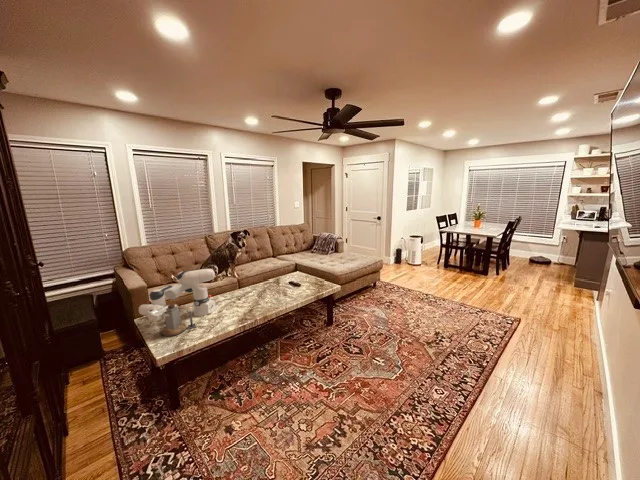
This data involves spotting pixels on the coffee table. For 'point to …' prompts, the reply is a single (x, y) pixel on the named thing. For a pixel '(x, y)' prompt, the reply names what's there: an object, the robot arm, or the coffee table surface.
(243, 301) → the coffee table surface
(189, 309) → the dial indicator
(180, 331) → the turntable
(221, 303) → the coffee table surface
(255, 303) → the coffee table surface
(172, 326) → the perfume bottle
